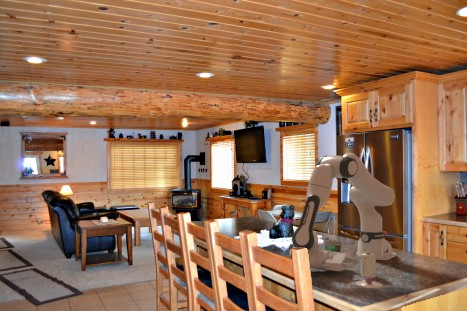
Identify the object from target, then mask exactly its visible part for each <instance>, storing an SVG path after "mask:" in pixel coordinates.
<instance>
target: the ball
mask: <svg viewBox="0 0 467 311" xmlns="http://www.w3.org/2000/svg"><path fill="white" fill-rule="evenodd" d="M364 280H365V281H366V283H367V284H371V283H372V282H373V281H374V280H373V278H371V277H366V278H365V279H364Z"/></svg>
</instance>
